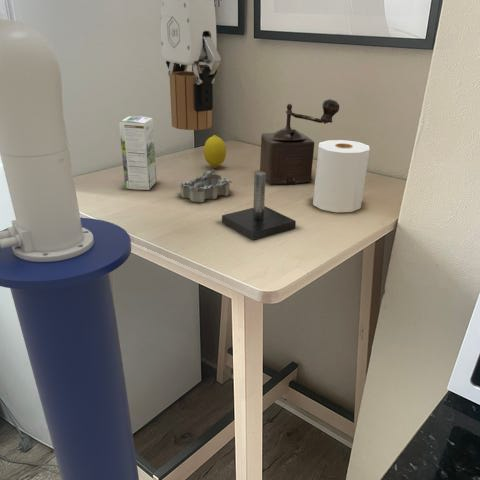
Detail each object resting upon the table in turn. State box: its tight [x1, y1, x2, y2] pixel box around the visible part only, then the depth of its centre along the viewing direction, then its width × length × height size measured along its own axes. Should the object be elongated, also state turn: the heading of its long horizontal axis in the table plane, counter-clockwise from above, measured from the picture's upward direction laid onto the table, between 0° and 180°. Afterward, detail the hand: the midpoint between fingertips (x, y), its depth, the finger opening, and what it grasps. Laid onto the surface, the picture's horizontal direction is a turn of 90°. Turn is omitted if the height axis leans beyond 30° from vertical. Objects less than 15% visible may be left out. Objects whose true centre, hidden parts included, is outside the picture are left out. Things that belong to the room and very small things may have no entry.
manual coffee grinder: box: [259, 98, 340, 186], centre depth 116 cm, size 16×11×18 cm
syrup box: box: [119, 115, 157, 191], centre depth 109 cm, size 6×6×14 cm
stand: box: [221, 171, 297, 241], centre depth 92 cm, size 10×10×10 cm
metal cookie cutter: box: [178, 168, 233, 203], centre depth 108 cm, size 11×8×4 cm
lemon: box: [203, 134, 227, 169], centre depth 124 cm, size 6×6×8 cm
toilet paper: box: [312, 139, 371, 214], centre depth 102 cm, size 10×10×12 cm
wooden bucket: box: [168, 70, 213, 131], centre depth 83 cm, size 7×7×8 cm
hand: (191, 105), depth 83 cm, fingers closed on wooden bucket, 6 cm apart
